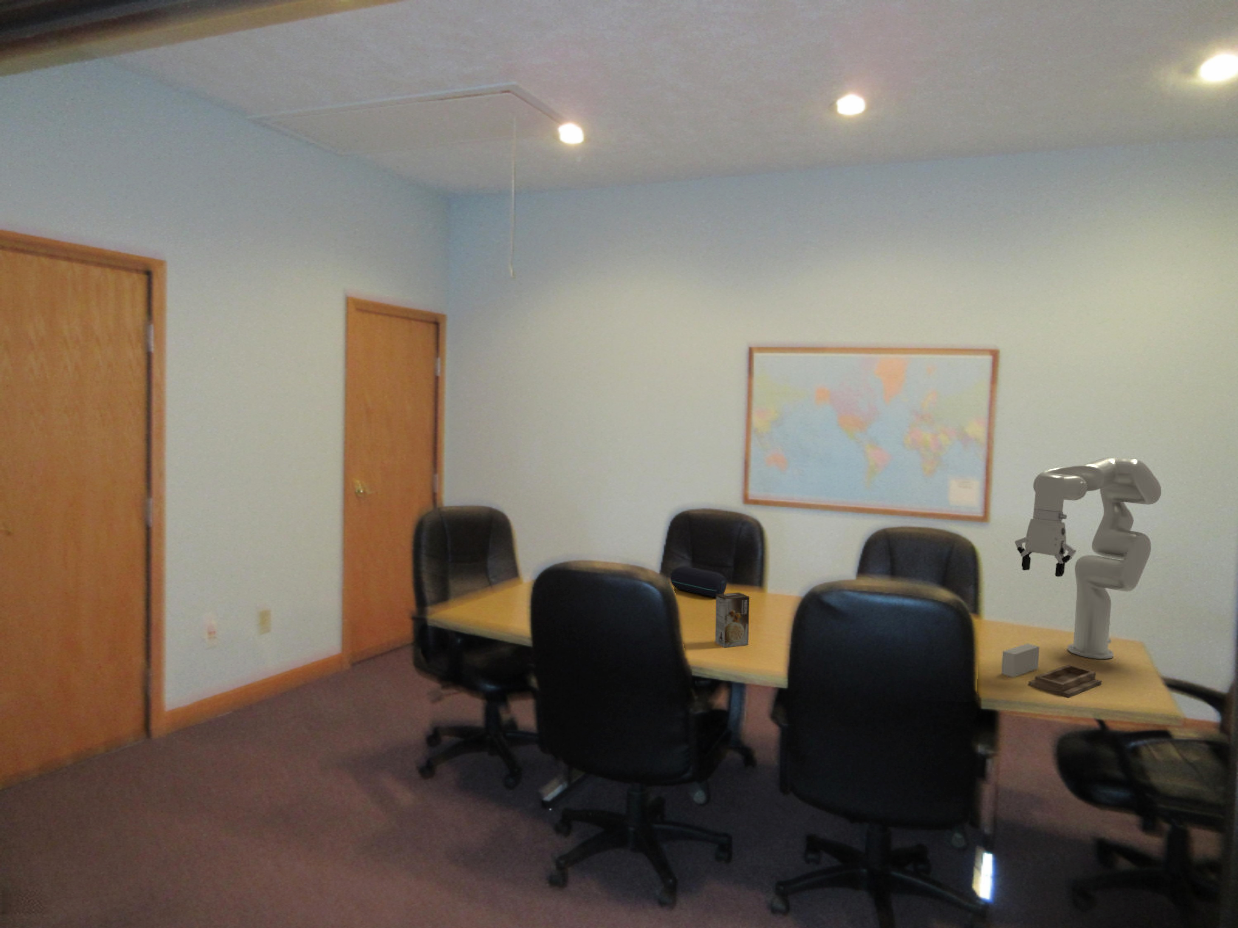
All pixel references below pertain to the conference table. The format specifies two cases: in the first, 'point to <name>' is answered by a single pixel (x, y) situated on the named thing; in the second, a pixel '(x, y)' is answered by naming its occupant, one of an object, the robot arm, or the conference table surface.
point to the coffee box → (732, 619)
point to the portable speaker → (698, 581)
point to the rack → (1066, 681)
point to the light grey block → (1020, 660)
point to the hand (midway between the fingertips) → (1042, 573)
